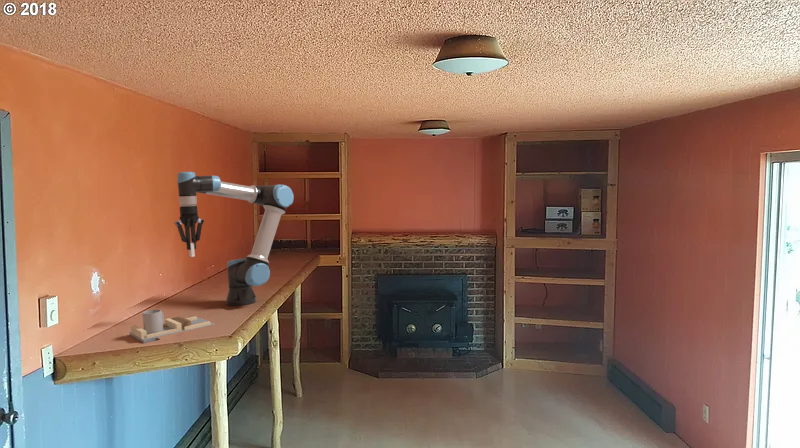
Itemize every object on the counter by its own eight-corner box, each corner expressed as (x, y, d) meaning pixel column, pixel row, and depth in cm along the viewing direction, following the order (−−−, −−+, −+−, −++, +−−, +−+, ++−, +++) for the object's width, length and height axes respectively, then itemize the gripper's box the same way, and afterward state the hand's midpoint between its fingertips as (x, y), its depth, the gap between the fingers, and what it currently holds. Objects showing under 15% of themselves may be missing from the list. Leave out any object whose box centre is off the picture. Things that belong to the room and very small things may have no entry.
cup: (140, 334, 218) (138, 313, 217) (156, 327, 228) (155, 307, 227) (155, 335, 216) (153, 313, 216) (171, 328, 226) (169, 308, 225)
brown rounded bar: (180, 322, 235) (180, 316, 234) (191, 327, 226) (191, 320, 226) (171, 324, 232) (171, 318, 232) (182, 329, 223) (181, 322, 223)
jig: (199, 320, 243) (198, 311, 243) (216, 326, 230) (215, 317, 230) (129, 334, 223) (128, 325, 223) (143, 343, 210) (143, 332, 209)
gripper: (198, 204, 248) (202, 254, 250) (170, 206, 240) (174, 257, 241) (205, 204, 243) (209, 255, 245) (177, 206, 234) (181, 259, 236)
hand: (192, 256), depth 243 cm, fingers closed
